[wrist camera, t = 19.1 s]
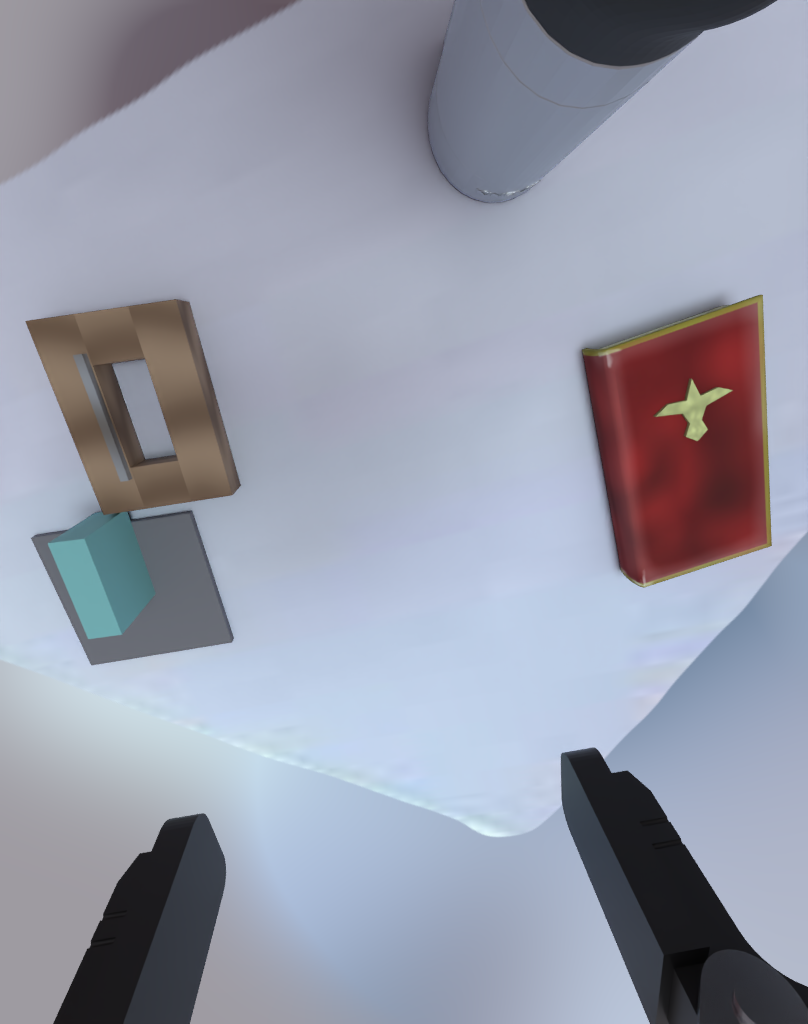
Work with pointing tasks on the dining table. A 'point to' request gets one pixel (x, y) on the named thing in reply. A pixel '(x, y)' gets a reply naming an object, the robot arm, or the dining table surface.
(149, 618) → the mat
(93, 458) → the brown wooden frame
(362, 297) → the dining table surface
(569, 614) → the dining table surface
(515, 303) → the dining table surface
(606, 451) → the hardcover book
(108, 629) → the teal rectangular prism
